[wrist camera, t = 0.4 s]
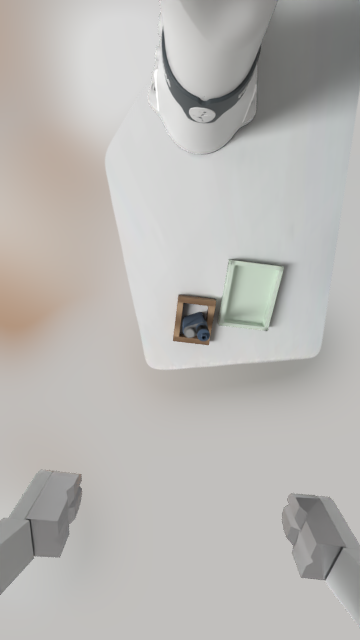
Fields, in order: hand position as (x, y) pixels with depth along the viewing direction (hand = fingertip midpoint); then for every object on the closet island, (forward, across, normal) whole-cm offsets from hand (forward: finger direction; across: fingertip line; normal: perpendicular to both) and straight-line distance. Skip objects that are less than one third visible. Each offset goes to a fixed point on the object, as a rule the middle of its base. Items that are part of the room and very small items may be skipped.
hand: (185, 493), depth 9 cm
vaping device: (+44, -4, +7) cm, 45 cm away
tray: (+44, -14, 0) cm, 46 cm away
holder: (+44, -4, +7) cm, 45 cm away
